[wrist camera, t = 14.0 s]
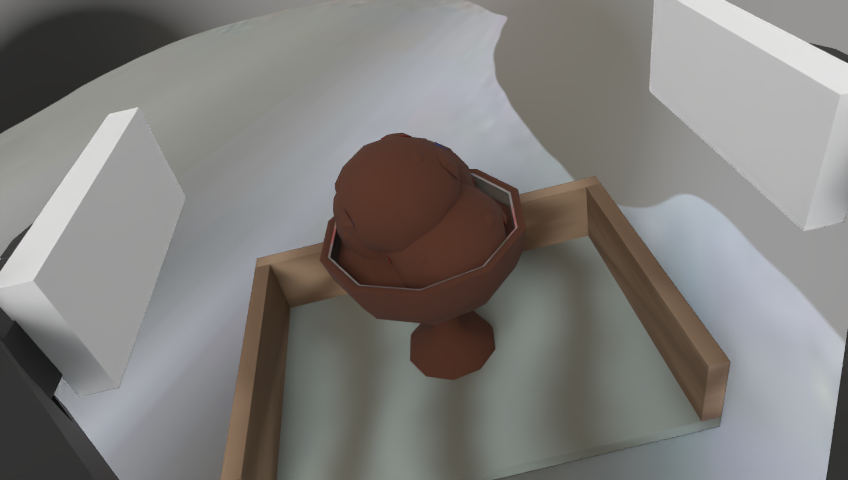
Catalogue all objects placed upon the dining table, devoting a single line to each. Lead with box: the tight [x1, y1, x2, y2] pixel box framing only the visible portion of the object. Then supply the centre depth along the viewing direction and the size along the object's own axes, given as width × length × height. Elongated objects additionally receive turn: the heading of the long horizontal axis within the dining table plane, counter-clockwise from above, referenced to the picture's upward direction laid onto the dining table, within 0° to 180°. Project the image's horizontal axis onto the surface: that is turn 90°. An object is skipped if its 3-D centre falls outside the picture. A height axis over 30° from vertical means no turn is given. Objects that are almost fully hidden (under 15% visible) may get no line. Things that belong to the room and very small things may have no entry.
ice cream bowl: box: [320, 133, 526, 380], centre depth 32 cm, size 11×11×15 cm
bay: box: [220, 176, 730, 480], centre depth 35 cm, size 24×17×5 cm
